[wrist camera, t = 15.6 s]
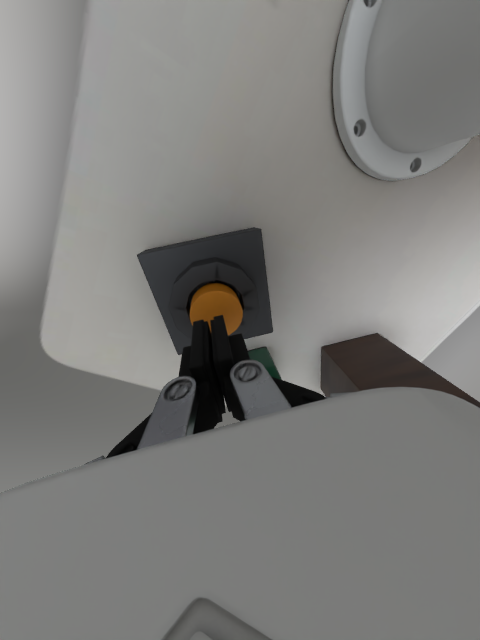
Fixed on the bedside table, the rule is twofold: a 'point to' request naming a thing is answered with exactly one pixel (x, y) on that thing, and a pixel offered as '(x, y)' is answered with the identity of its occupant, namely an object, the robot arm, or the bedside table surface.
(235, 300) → the button
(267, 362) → the green block
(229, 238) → the push button base
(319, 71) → the bedside table surface
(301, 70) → the bedside table surface
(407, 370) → the brown rectangular block
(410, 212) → the bedside table surface
